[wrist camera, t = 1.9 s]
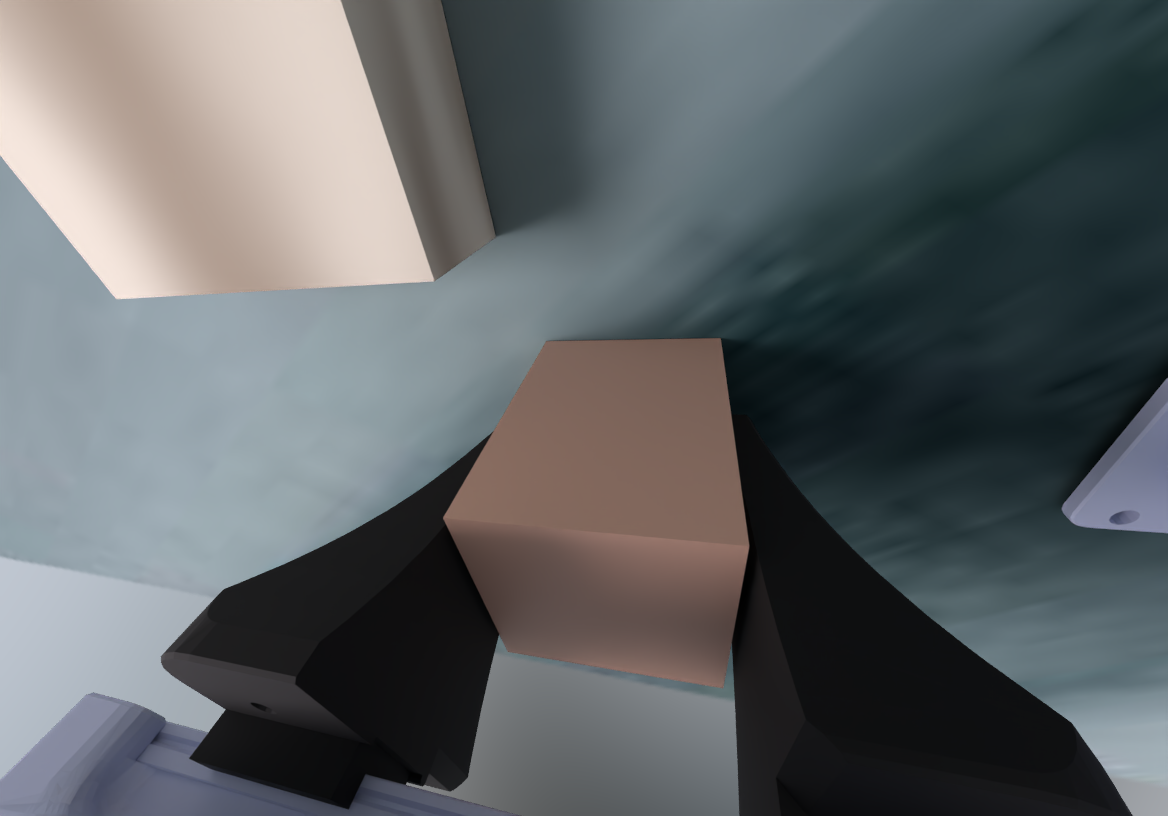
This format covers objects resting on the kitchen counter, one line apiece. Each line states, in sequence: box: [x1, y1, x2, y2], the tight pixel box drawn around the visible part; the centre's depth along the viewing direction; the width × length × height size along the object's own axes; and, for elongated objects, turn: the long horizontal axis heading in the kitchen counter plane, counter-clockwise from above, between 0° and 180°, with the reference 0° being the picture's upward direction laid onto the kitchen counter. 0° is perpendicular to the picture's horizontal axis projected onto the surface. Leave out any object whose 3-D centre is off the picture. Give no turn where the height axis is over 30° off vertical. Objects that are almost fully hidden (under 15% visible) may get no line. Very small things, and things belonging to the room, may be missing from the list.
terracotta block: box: [443, 338, 749, 688], centre depth 10 cm, size 4×4×6 cm
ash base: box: [0, 0, 496, 299], centre depth 7 cm, size 8×8×3 cm
